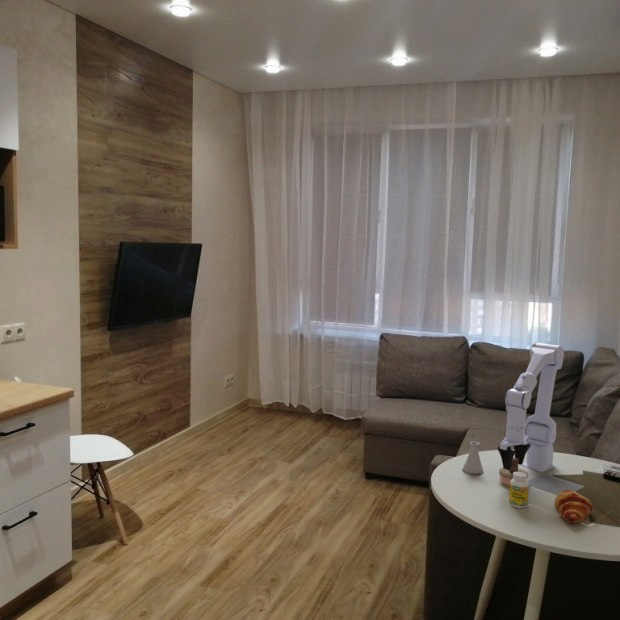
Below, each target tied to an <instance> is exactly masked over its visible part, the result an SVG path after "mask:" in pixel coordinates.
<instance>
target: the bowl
mask: <svg viewBox="0 0 620 620" xmlns="http://www.w3.org/2000/svg"><path fill="white" fill-rule="evenodd" d="M511 480H512V479H509V478H505V477H503V476H501V475H500V474H499V482H501V484H503V485H506V486H509V487H510V481H511Z"/></svg>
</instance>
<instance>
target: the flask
mask: <svg viewBox="0 0 620 620" xmlns="http://www.w3.org/2000/svg"><path fill="white" fill-rule="evenodd" d="M469 446H470V447H469V448H470V449H469V452H468V456H467V458H466V461H465V462H464V464H463V467H462V471H463V470H464V471H465V472H464V471H463V472H464V473H466V474H470V475H483V474H484V468H483V467H484V466H483V465H482V462H481V457H480V453H479V446H480V442H478V441H469Z"/></svg>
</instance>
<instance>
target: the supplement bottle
mask: <svg viewBox="0 0 620 620" xmlns="http://www.w3.org/2000/svg"><path fill="white" fill-rule="evenodd" d="M527 479H528V478H527V474H526V473H523V472H514V473H513V479H512V480H511V481H510V486H509V492H508V493H509V496H508V497H509V498H508V504H509V505H510V506H511V507H514V508H516V509H524V508H527V507H528V505H529V504H528V503H529V488H530V486H529V483H528V481H529V480H527Z"/></svg>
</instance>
